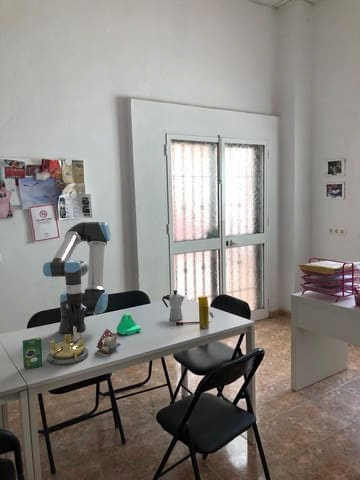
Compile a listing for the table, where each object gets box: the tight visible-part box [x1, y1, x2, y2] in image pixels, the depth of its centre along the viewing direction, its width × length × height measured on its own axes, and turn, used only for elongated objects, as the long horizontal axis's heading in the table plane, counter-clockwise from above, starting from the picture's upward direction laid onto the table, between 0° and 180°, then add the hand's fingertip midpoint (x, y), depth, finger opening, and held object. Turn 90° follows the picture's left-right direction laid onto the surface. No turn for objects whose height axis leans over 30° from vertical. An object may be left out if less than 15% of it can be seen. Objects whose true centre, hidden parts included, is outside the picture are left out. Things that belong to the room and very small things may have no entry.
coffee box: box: [22, 337, 44, 370], centre depth 178 cm, size 8×3×13 cm, turn 120°
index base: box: [46, 347, 89, 367], centre depth 188 cm, size 19×19×5 cm
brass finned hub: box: [49, 334, 86, 359], centre depth 188 cm, size 16×16×6 cm
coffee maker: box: [161, 289, 186, 322], centre depth 243 cm, size 15×9×18 cm, turn 84°
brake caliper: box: [96, 328, 121, 357], centre depth 194 cm, size 11×11×12 cm
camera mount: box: [116, 312, 142, 336], centre depth 221 cm, size 12×8×10 cm, turn 122°
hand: (76, 338), depth 194 cm, fingers closed
